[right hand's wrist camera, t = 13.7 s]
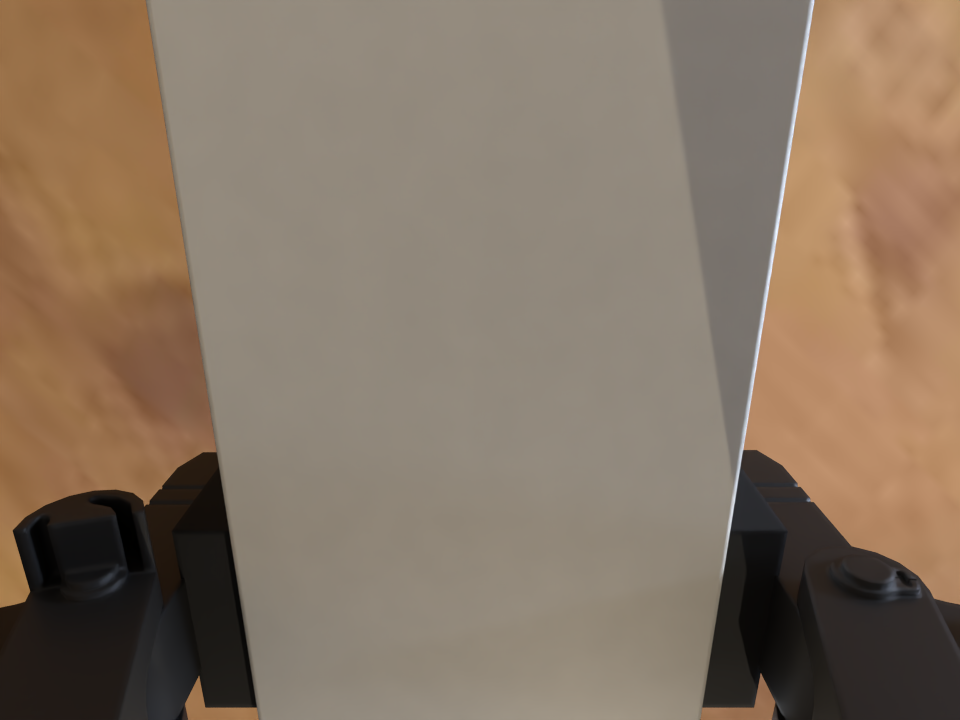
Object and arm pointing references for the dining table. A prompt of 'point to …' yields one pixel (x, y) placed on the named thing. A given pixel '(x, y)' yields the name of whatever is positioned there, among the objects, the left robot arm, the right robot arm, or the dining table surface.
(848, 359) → the dining table surface
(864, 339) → the dining table surface
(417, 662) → the post
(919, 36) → the dining table surface
